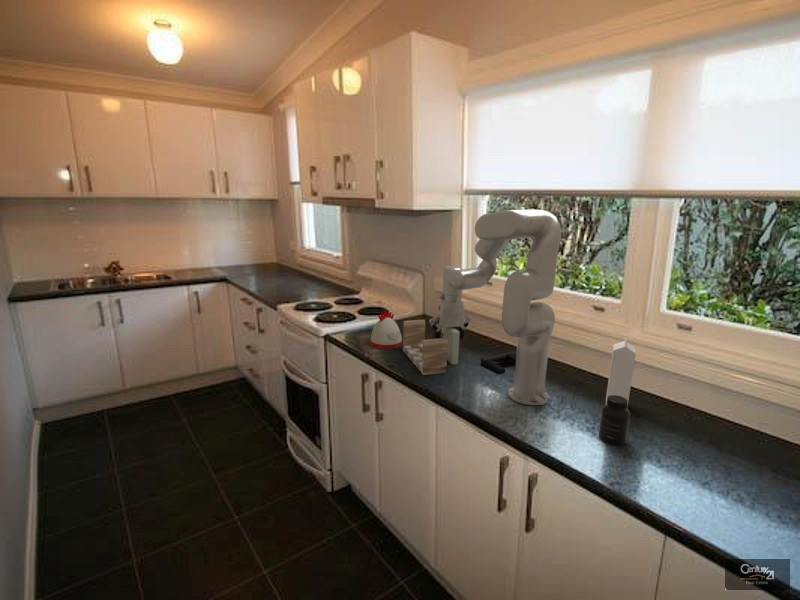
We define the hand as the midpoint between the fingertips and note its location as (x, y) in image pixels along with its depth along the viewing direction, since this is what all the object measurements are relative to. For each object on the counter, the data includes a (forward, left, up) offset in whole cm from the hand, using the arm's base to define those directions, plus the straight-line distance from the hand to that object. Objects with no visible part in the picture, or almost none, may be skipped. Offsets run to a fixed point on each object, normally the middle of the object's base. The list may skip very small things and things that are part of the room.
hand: (449, 339), depth 169 cm
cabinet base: (-1, +11, -8) cm, 13 cm away
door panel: (-1, 0, -8) cm, 8 cm away
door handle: (-13, -20, -9) cm, 26 cm away
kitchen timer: (+23, +20, -8) cm, 32 cm away
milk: (-51, -36, -8) cm, 63 cm away
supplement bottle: (-67, -20, -8) cm, 70 cm away
